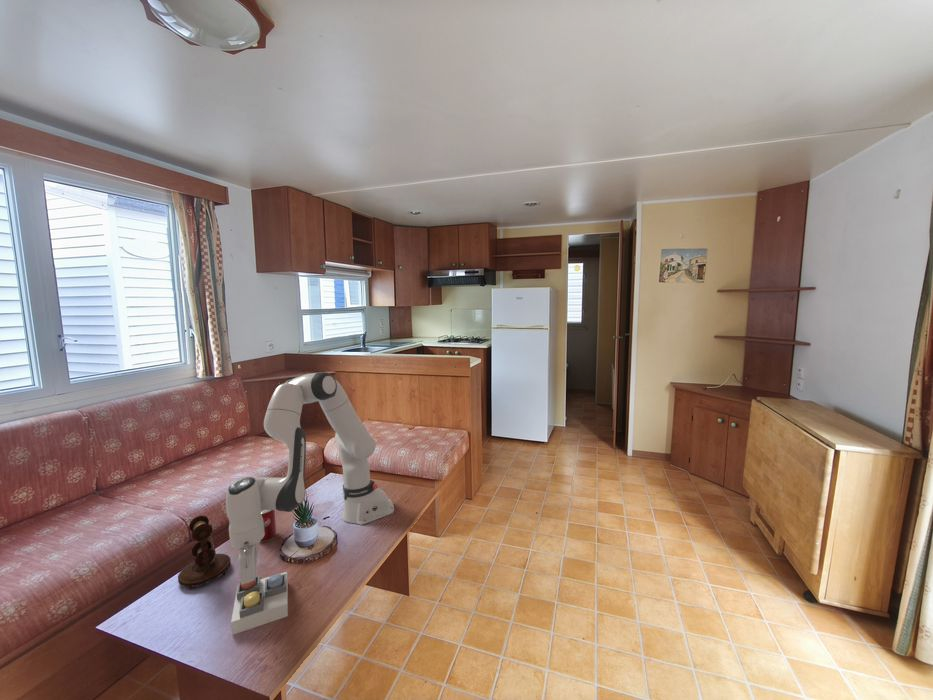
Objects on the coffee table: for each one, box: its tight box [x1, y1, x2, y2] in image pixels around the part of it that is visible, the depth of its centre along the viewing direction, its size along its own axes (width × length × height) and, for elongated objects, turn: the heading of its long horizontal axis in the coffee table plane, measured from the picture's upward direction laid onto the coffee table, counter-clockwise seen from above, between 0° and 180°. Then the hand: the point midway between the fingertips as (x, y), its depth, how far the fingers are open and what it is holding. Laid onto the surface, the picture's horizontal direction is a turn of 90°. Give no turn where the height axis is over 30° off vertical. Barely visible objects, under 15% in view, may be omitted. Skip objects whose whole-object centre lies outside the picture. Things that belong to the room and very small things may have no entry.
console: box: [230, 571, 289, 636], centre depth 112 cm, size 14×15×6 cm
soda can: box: [260, 510, 278, 543], centre depth 147 cm, size 7×7×12 cm
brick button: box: [241, 578, 256, 590], centre depth 114 cm, size 4×4×3 cm
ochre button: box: [244, 591, 260, 609], centre depth 107 cm, size 4×4×3 cm
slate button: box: [268, 573, 283, 590], centre depth 115 cm, size 4×4×3 cm
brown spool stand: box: [177, 515, 232, 590], centre depth 126 cm, size 15×15×20 cm
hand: (252, 576), depth 111 cm, fingers closed
